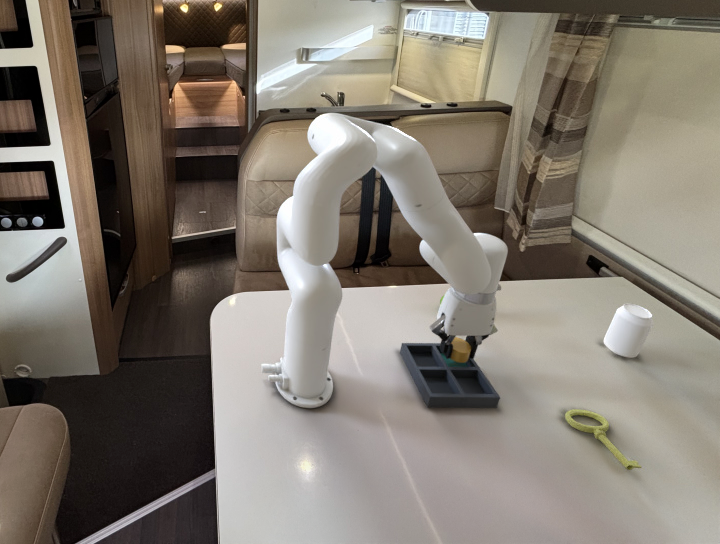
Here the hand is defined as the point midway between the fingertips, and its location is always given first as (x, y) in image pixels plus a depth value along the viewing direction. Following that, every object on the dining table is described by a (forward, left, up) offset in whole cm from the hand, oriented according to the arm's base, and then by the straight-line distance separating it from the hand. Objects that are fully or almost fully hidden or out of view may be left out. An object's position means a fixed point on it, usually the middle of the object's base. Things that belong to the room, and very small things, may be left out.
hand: (456, 353), depth 97 cm
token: (0, 0, 0) cm, 0 cm away
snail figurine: (+8, +18, -4) cm, 20 cm away
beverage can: (+42, +5, -4) cm, 43 cm away
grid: (-4, -3, -4) cm, 6 cm away
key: (+19, -17, -4) cm, 26 cm away
